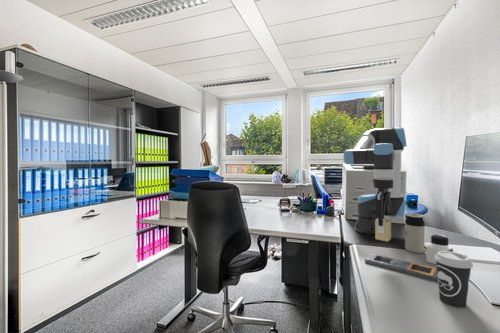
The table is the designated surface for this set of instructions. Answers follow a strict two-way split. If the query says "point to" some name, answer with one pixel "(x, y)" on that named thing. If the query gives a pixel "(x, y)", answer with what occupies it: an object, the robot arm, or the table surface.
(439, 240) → the medicine bottle
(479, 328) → the table surface
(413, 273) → the rail
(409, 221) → the travel mug
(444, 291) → the coffee cup
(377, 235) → the nut block
